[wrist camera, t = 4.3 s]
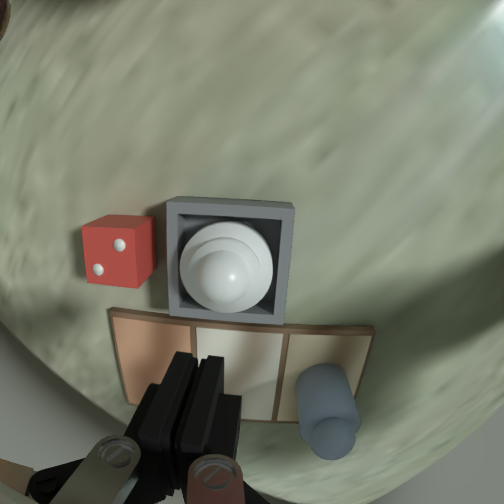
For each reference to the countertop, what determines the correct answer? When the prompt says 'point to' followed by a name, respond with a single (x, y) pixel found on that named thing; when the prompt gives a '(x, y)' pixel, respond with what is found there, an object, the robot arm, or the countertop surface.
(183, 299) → the base
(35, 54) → the countertop surface
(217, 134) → the countertop surface
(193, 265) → the dome
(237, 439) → the robot arm
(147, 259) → the red die
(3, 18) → the ceramic jug
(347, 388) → the pawn
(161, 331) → the game track
